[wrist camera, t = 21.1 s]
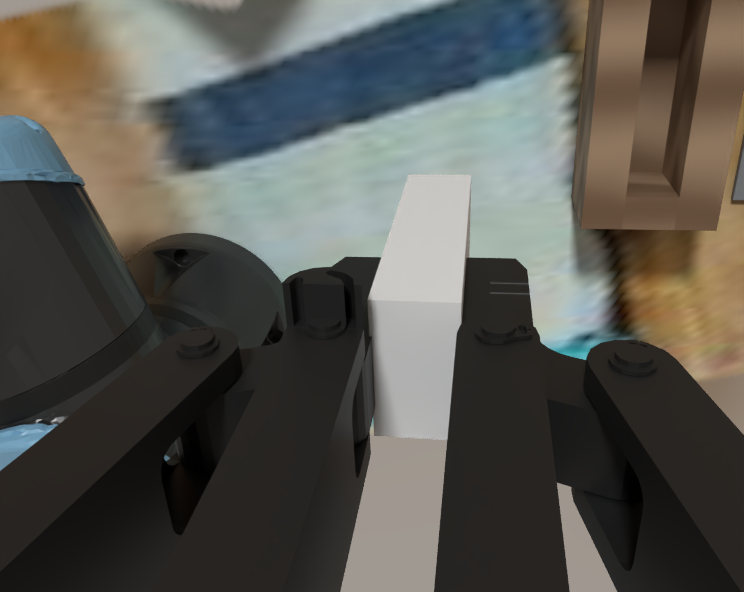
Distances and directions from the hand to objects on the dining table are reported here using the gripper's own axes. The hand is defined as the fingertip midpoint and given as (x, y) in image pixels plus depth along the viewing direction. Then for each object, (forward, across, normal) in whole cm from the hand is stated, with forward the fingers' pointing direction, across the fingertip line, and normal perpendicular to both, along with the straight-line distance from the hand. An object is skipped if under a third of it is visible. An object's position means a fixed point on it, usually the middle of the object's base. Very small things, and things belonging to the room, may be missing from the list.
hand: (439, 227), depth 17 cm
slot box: (+32, -11, +2) cm, 34 cm away
